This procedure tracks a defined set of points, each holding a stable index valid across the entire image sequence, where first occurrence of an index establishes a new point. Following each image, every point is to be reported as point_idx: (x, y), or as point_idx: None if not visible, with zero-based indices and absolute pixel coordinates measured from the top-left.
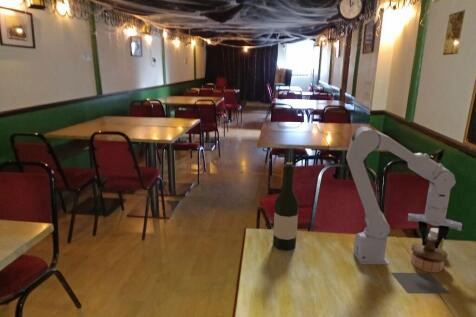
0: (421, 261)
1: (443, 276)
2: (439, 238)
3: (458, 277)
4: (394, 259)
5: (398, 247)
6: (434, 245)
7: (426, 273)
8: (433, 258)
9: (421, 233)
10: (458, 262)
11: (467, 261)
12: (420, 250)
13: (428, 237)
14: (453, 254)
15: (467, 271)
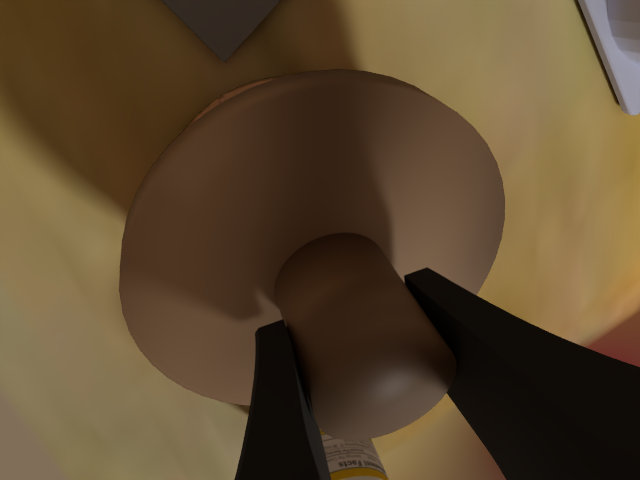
0: None
1: (107, 119)
2: (286, 466)
3: (3, 210)
4: (515, 96)
5: (497, 292)
6: (306, 333)
7: (241, 22)
8: (229, 104)
9: (612, 362)
10: (127, 415)
11: (90, 466)
12: (416, 179)
13: (384, 477)
14: (195, 469)
15: (12, 356)
